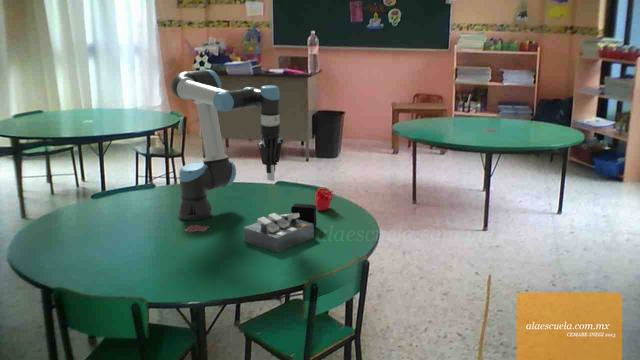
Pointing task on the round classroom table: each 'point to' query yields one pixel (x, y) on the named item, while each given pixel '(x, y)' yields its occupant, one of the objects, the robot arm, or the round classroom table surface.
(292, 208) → the electronic device
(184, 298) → the round classroom table surface
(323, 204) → the heart organ
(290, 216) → the rocker far
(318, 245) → the round classroom table surface
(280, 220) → the rocker mid
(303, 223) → the console
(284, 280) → the round classroom table surface
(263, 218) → the rocker near
